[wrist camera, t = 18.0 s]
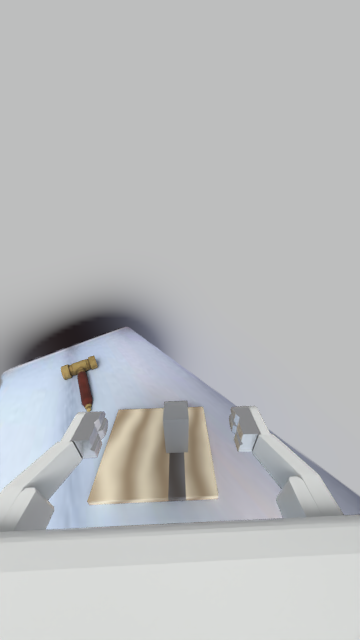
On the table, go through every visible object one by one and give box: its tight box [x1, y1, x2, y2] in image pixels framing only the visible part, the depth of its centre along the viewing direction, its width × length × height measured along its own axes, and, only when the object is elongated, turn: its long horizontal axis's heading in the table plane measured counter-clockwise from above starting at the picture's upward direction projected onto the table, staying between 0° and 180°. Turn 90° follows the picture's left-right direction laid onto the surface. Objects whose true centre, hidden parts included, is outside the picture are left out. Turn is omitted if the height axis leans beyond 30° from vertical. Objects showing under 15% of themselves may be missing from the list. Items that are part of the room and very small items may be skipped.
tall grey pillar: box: [163, 401, 189, 453], centre depth 31 cm, size 4×4×11 cm
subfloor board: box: [87, 407, 218, 505], centre depth 34 cm, size 22×16×2 cm
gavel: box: [61, 356, 98, 412], centre depth 48 cm, size 21×5×10 cm
